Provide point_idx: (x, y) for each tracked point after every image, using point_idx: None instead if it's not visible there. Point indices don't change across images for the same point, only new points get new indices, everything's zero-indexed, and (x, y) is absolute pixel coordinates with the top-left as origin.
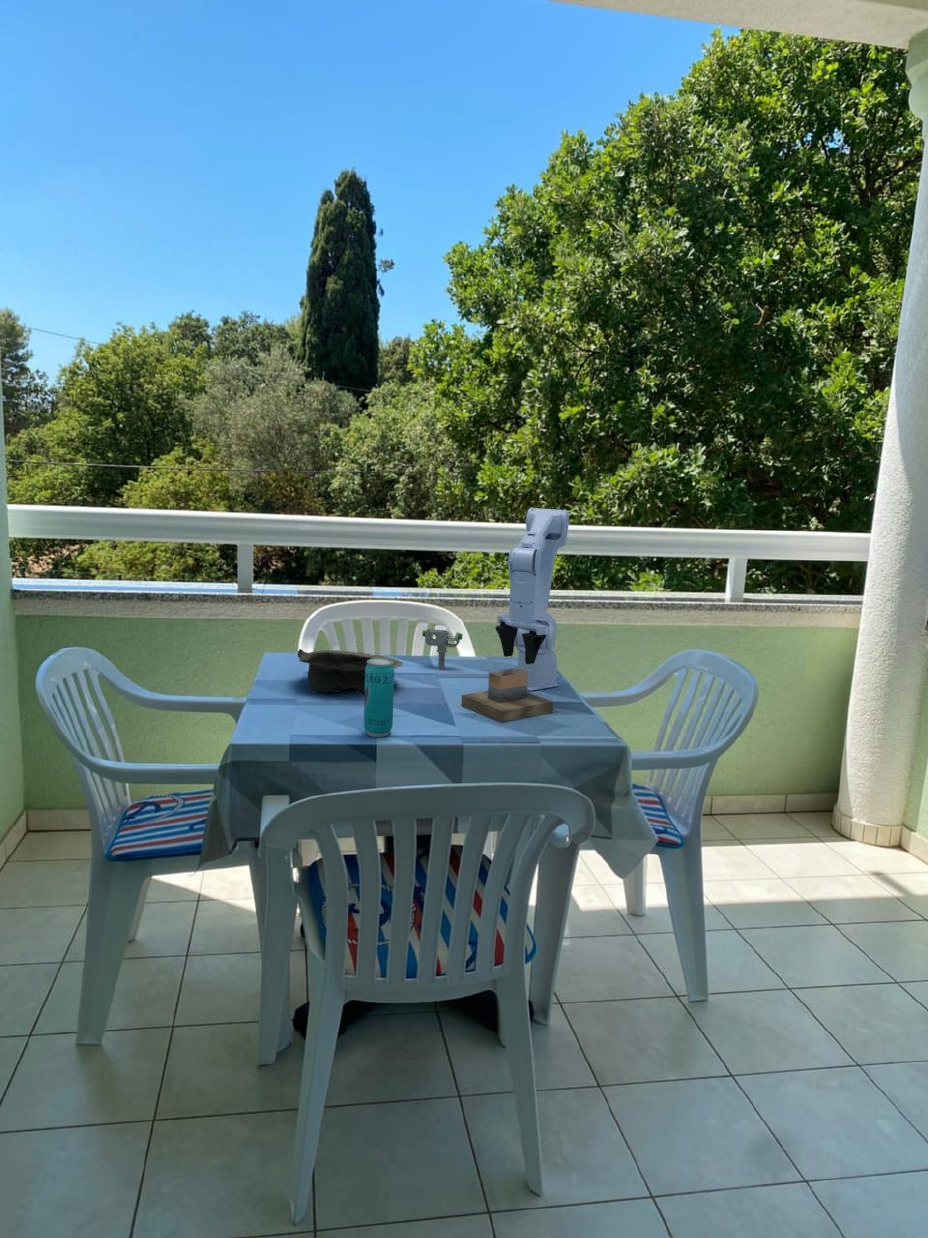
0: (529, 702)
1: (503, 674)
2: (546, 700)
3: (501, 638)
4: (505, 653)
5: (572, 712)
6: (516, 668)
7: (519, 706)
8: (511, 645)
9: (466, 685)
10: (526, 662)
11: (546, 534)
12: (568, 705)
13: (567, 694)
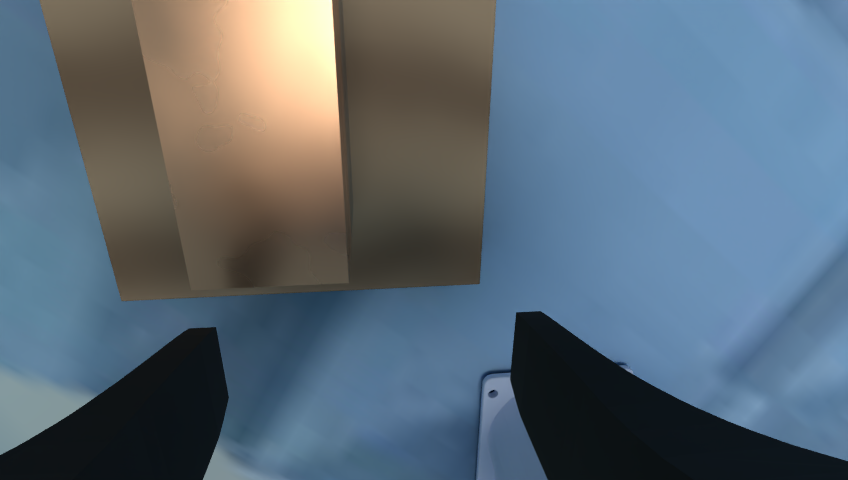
0: (147, 164)
1: (189, 20)
2: (152, 278)
3: (646, 405)
4: (527, 327)
5: (115, 349)
6: (340, 276)
7: (76, 38)
8: (547, 442)
9: (751, 178)
10: (193, 332)
11: None
12: None
13: (369, 475)
